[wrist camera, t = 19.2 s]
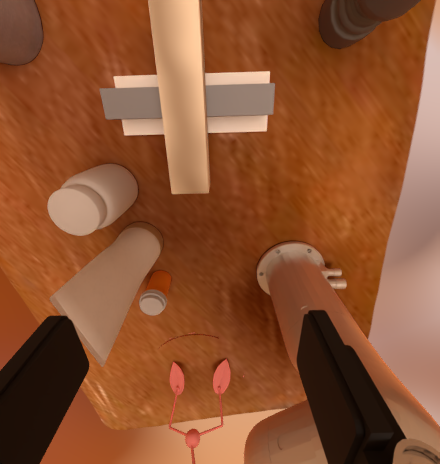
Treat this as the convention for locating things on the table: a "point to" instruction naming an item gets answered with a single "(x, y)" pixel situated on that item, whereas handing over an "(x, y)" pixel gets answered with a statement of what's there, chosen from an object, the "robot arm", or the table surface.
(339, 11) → the candle holder
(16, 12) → the pillar candle
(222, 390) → the figurine
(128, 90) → the ridge stand
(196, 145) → the birch bar
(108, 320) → the toiletry set
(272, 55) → the table surface
